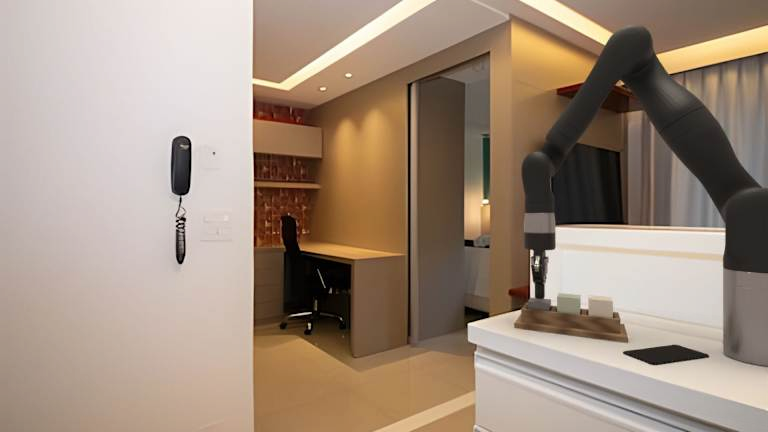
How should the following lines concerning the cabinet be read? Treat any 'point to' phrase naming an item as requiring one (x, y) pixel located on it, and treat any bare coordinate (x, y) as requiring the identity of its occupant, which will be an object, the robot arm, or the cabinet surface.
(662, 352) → the smartphone
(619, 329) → the wooden tray
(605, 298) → the beige cube
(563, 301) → the key sage
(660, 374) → the cabinet surface
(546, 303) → the key charcoal
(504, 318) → the cabinet surface
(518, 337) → the cabinet surface
